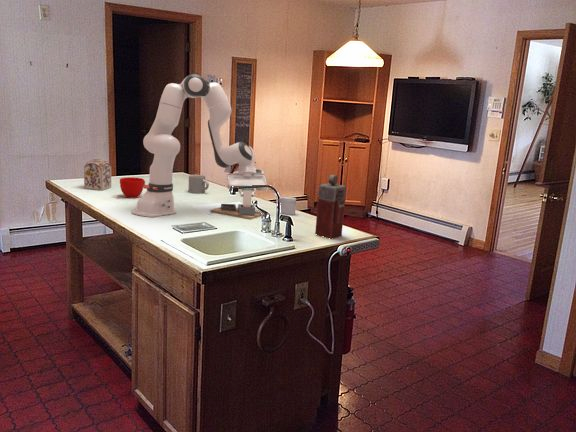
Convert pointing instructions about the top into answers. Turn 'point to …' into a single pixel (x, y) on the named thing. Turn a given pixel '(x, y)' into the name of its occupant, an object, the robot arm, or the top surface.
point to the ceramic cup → (132, 186)
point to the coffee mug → (197, 184)
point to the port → (246, 210)
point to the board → (235, 213)
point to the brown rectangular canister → (330, 209)
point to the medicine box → (288, 205)
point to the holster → (228, 207)
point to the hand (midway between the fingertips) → (247, 196)
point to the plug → (247, 197)
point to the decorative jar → (97, 175)
